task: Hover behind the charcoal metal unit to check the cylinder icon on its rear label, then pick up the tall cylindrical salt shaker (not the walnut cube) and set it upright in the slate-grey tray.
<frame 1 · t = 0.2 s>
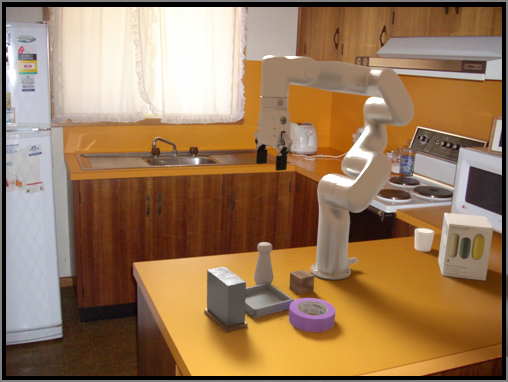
hand: (270, 166, 143), 36 cm above the counter, tool pointing down, fingers open, 9 cm apart
walnut cube: (301, 290, 152), on the counter
unit: (225, 319, 133), on the counter
shot glass: (422, 249, 188), on the counter
salt shaker: (263, 285, 154), on the counter
tray: (261, 303, 142), on the counter
masking tape: (311, 321, 134), on the counter
supplement box: (460, 271, 169), on the counter
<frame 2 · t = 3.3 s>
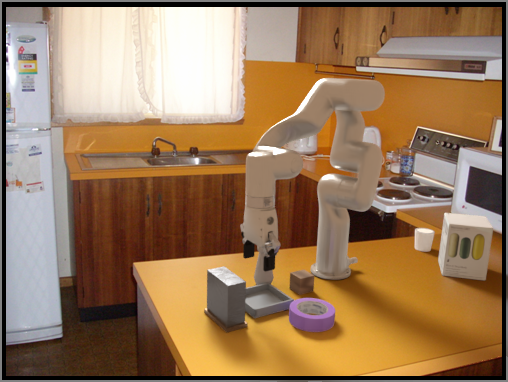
hand: (258, 263, 136), 13 cm above the counter, tool pointing down, fingers open, 9 cm apart
nothing on the counter moved.
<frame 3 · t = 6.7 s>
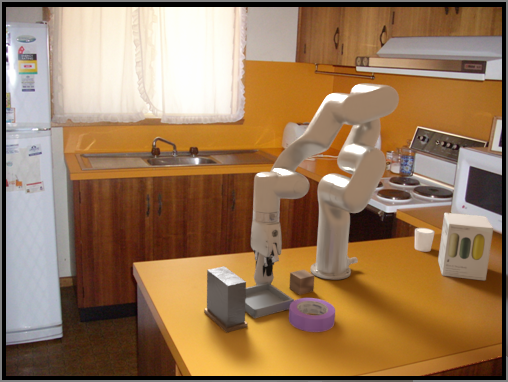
hand: (263, 274, 153), 3 cm above the counter, tool pointing down, fingers closed on salt shaker, 3 cm apart
salt shaker: (263, 285, 154), on the counter, touching gripper
everything else where it was.
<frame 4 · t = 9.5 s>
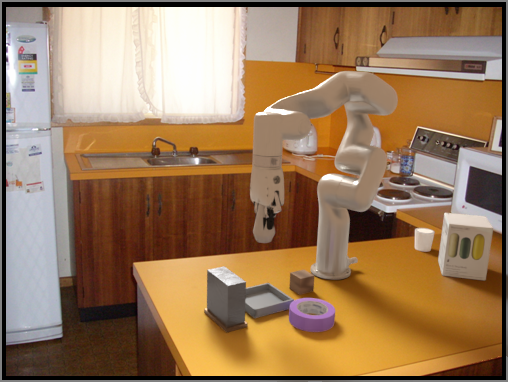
hand: (264, 228, 137), 21 cm above the counter, tool pointing down, fingers closed on salt shaker, 3 cm apart
salt shaker: (263, 241, 138), point 18 cm above the counter, touching gripper
everything else where it was.
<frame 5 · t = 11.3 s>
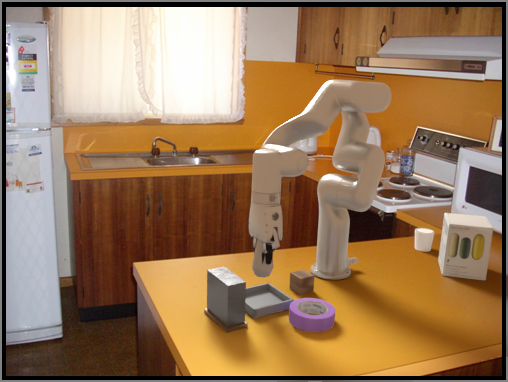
hand: (262, 263, 139), 12 cm above the counter, tool pointing down, fingers closed on salt shaker, 3 cm apart
salt shaker: (262, 275, 140), point 8 cm above the counter, touching gripper
everything else where it was.
when the fingers open (6 cm above the counter, at t = 12.7 s): salt shaker drops 2 cm, resting on tray.
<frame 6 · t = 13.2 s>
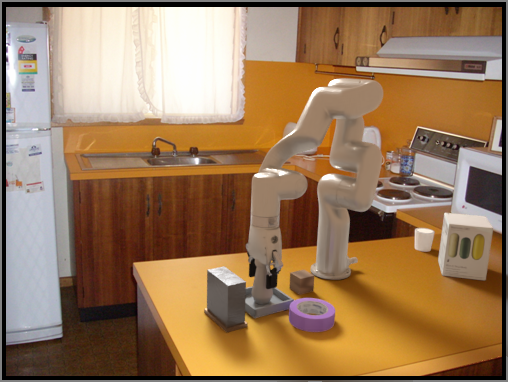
hand: (262, 281, 141), 6 cm above the counter, tool pointing down, fingers open, 8 cm apart
salt shaker: (262, 301, 142), resting on tray
everything else where it was.
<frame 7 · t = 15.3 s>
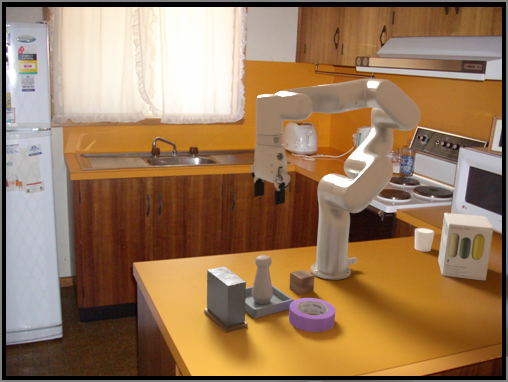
hand: (269, 199, 148), 26 cm above the counter, tool pointing down, fingers open, 9 cm apart
nothing on the counter moved.
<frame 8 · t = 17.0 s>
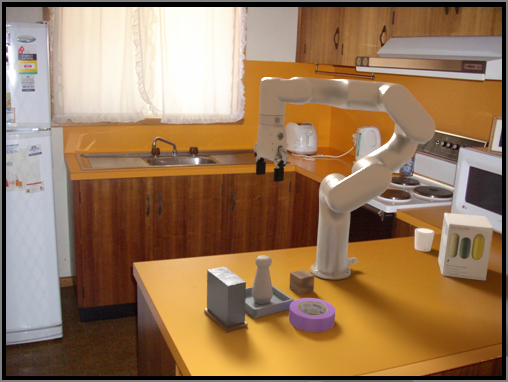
hand: (269, 177, 156), 30 cm above the counter, tool pointing down, fingers open, 9 cm apart
nothing on the counter moved.
at the end: salt shaker 0.1 cm off-centre on the tray, point 0.4 cm above the tray's base; salt shaker tilted 0°; the gripper is holding nothing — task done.
